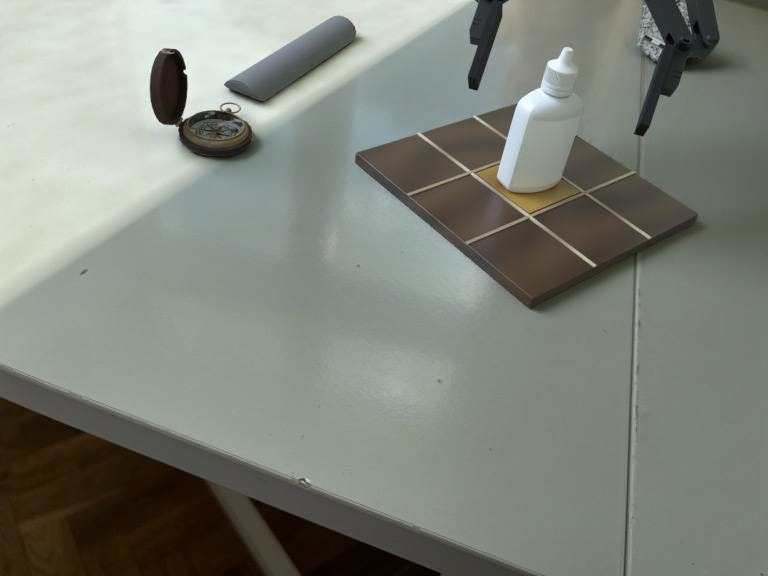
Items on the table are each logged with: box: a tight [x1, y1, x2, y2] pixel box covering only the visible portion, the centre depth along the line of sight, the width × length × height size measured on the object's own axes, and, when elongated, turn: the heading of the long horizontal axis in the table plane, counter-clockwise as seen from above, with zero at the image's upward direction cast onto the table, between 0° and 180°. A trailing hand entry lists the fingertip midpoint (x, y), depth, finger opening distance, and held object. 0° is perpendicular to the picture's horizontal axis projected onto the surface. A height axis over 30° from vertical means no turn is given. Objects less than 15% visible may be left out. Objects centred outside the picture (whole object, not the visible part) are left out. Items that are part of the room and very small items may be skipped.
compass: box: [149, 47, 254, 158], centre depth 65 cm, size 8×8×7 cm
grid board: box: [354, 102, 700, 309], centre depth 67 cm, size 21×21×1 cm
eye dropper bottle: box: [497, 46, 585, 193], centre depth 63 cm, size 4×6×12 cm
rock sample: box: [636, 0, 719, 63], centre depth 93 cm, size 10×8×9 cm
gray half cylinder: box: [223, 15, 357, 101], centre depth 79 cm, size 4×20×2 cm, turn 153°
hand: (555, 107), depth 61 cm, fingers open, 13 cm apart
